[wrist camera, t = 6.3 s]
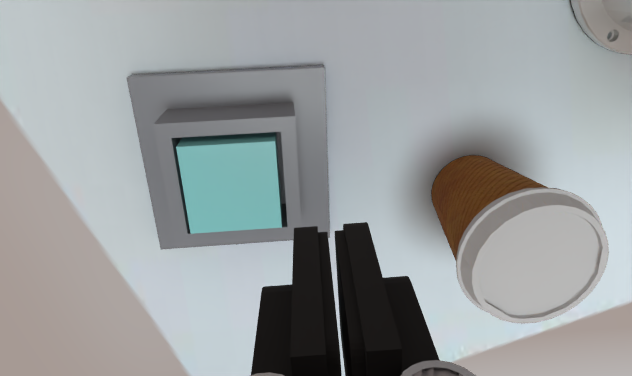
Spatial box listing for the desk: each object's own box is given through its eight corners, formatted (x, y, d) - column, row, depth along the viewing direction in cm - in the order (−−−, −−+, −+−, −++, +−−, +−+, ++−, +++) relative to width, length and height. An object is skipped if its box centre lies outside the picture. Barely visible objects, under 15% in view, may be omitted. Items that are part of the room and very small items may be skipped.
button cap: (275, 124, 34) (275, 141, 30) (281, 203, 36) (281, 227, 33) (187, 129, 34) (176, 147, 30) (199, 208, 36) (190, 233, 32)
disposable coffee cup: (396, 166, 38) (443, 239, 27) (505, 116, 37) (600, 170, 26) (433, 254, 42) (489, 350, 31) (534, 211, 41) (628, 293, 30)
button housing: (323, 65, 34) (330, 77, 30) (328, 230, 40) (335, 263, 35) (131, 74, 34) (107, 88, 29) (164, 241, 39) (148, 277, 34)
